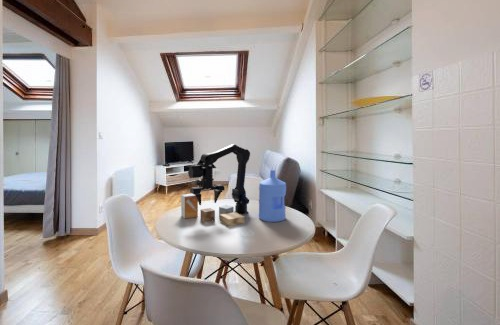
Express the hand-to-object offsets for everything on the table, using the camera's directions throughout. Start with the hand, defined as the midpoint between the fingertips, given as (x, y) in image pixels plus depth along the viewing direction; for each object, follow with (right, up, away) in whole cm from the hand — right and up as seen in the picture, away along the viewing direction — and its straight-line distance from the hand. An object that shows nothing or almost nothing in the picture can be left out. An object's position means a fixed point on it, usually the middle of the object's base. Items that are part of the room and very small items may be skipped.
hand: (207, 204), depth 143 cm
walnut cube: (0, -9, +1) cm, 9 cm away
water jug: (+37, -9, +6) cm, 38 cm away
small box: (-12, -9, +7) cm, 17 cm away
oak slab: (+14, -10, -2) cm, 17 cm away
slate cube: (+10, -9, +8) cm, 15 cm away
